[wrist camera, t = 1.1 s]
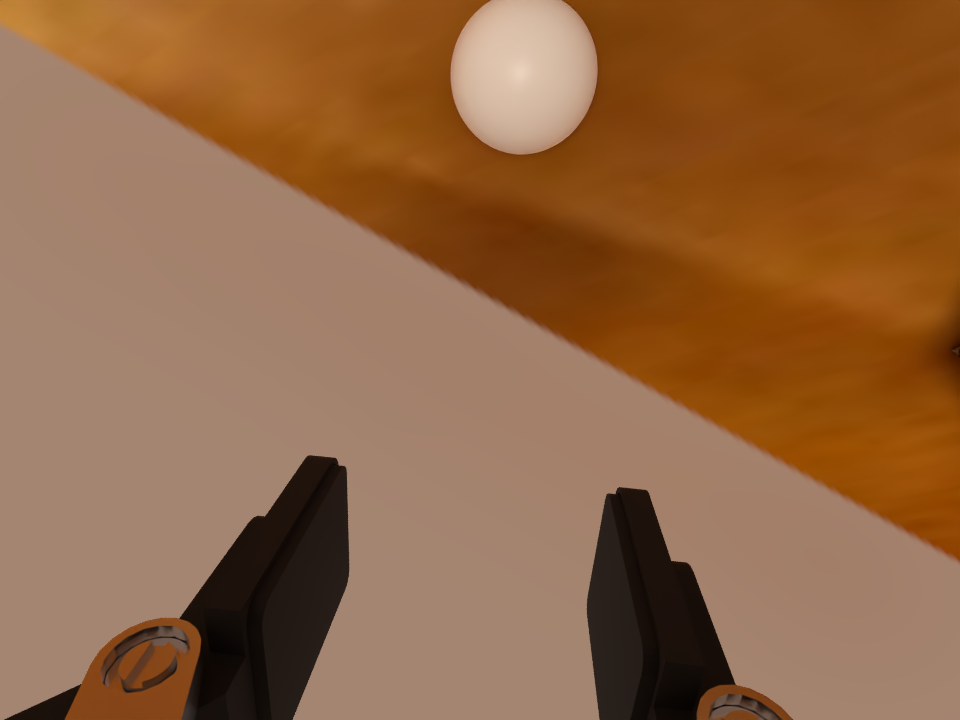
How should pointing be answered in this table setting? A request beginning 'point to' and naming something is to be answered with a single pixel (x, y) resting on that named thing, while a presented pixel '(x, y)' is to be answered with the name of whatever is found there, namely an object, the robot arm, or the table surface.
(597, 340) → the table surface
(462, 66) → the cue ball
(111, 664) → the robot arm
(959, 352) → the game die
